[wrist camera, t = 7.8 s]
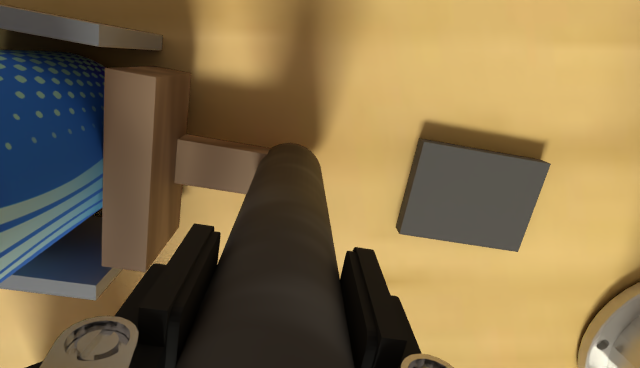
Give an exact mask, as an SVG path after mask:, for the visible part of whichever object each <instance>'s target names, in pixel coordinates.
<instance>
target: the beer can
mask: <svg viewBox="0 0 640 368" xmlns="http://www.w3.org/2000/svg"><path fill="white" fill-rule="evenodd" d="M105 68H106V67H104V66H103V65H101V64H99V63H98V62H95V61H93V60H91V59H89V58H86V57H83V56H81V55H77V54H73V53H68V52H59V51H32V50H1V49H0V283H1V282H3V281H4V280H5V279H7V278H8V277H9V276H11V275H12V274H13V273H15V272H16V271H17V270H19V269H20V268H22V267H23V266H24V265H26V264H27V263H28V262H30V261H31V260H32V259H34V258H35V257H36V256H38V255H39V254H40V253H42V252H43V251H44V250H46V249H47V248H48V247H50V246H51V245H53V244H54V243H55V242H57V241H58V240H59V239H61V238H62V237H63V236H65V235H66V234H67V233H69V232H70V231H71V230H73V229H74V228H75V227H77V226H78V225H80V224H81V223H82V222H84V221H85V220H86V219H88V218H89V217H90V216H92V215H93V214H94V213H96V212H97V211H98V210H100V209H101V208H102V206H103V142H104V78H105Z"/></svg>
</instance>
